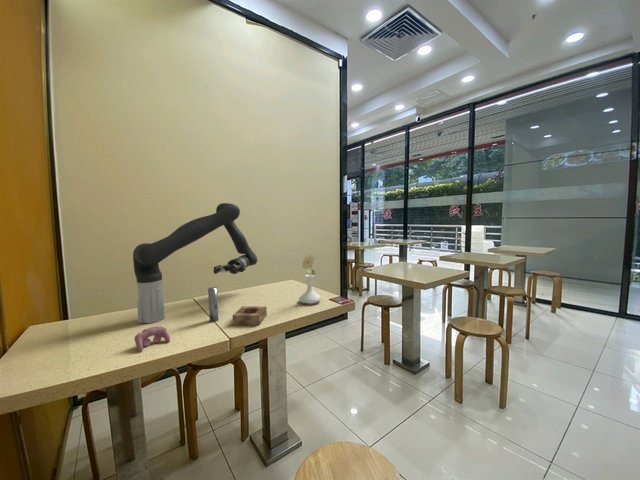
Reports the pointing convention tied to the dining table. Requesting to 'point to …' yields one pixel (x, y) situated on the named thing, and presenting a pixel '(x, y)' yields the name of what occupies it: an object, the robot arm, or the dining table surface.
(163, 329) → the pink curved piece
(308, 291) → the flower in vase
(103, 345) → the dining table surface
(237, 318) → the square wooden ashtray
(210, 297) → the metal rod
